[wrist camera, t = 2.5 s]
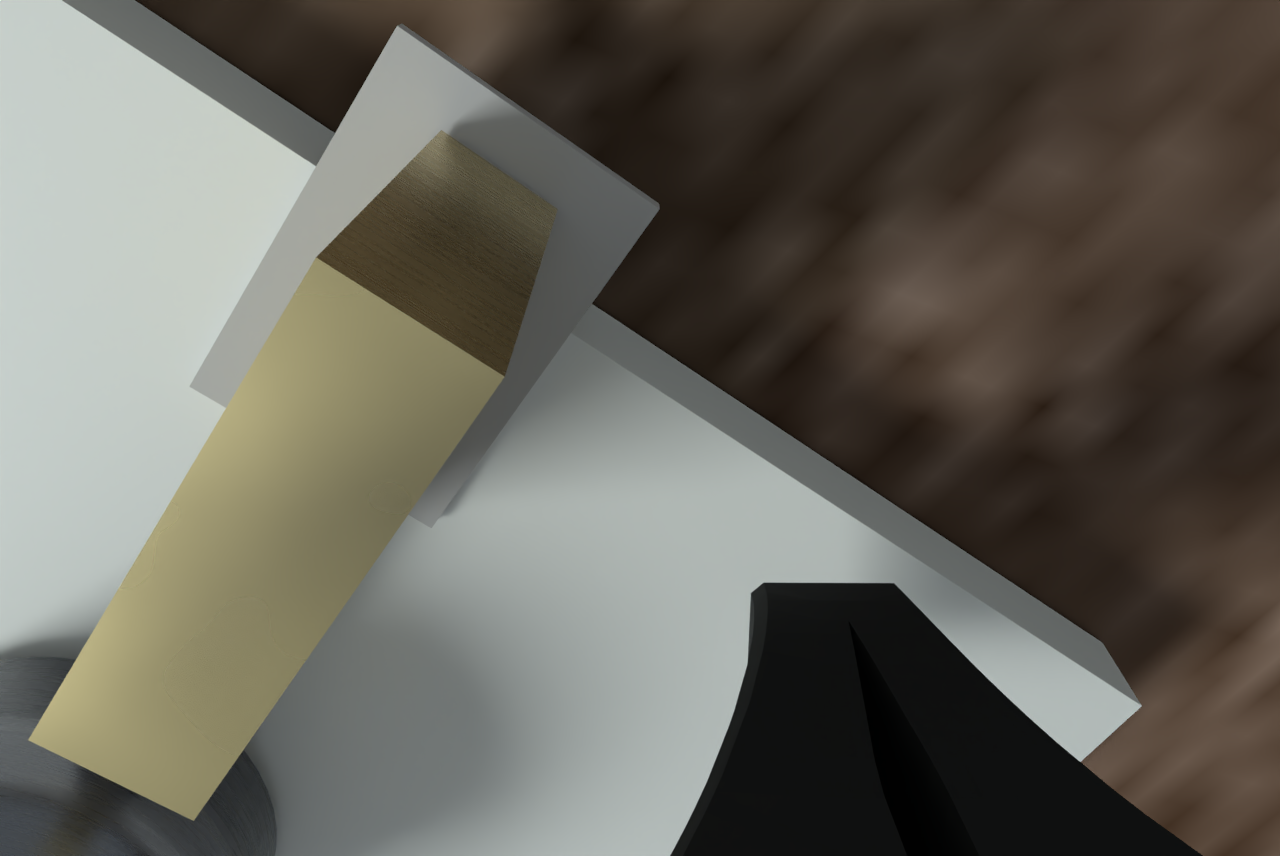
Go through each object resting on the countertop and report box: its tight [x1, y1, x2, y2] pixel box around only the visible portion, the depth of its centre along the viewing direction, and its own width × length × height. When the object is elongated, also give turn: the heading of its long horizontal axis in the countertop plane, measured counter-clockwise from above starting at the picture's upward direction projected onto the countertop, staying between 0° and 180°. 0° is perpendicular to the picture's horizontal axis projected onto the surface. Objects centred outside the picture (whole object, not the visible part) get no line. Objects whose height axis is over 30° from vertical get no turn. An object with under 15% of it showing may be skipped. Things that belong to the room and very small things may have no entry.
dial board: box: [0, 0, 1142, 856], centre depth 13 cm, size 19×18×1 cm
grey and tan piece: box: [0, 130, 558, 856], centre depth 10 cm, size 11×4×4 cm, turn 145°
